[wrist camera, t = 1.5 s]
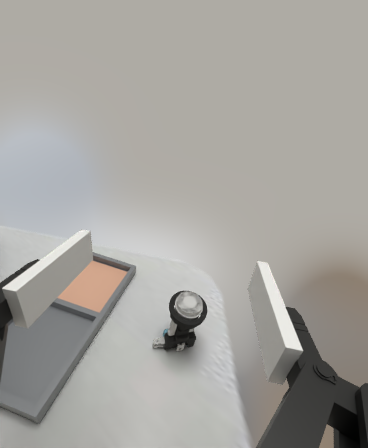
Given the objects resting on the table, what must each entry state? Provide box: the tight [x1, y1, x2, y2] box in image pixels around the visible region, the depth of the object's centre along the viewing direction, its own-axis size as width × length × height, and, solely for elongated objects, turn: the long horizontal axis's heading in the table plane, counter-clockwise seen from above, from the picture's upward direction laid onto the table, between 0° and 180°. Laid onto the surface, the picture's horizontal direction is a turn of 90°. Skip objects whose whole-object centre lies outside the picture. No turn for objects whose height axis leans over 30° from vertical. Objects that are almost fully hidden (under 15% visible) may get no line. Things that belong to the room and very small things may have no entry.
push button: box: [153, 291, 207, 351], centre depth 30 cm, size 7×5×10 cm
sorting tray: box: [0, 252, 136, 423], centre depth 32 cm, size 13×24×2 cm, turn 167°
